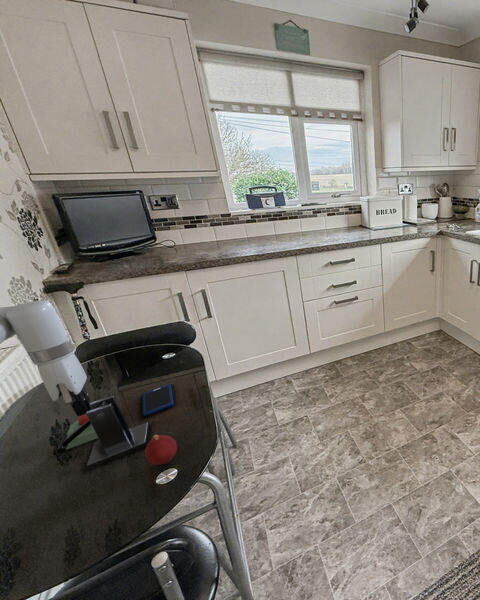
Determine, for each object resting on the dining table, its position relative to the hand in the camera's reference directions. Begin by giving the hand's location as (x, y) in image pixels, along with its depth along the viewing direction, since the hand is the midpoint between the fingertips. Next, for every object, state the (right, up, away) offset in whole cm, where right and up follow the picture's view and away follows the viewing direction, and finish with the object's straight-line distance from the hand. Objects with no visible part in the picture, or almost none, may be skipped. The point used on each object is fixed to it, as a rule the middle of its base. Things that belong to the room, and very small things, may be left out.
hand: (86, 412), depth 85 cm
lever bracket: (+13, -7, -4) cm, 15 cm away
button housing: (0, -6, +2) cm, 6 cm away
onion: (+29, -8, -10) cm, 32 cm away
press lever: (+9, -1, -9) cm, 13 cm away
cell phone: (+9, -1, +13) cm, 16 cm away
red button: (0, -2, +1) cm, 3 cm away
